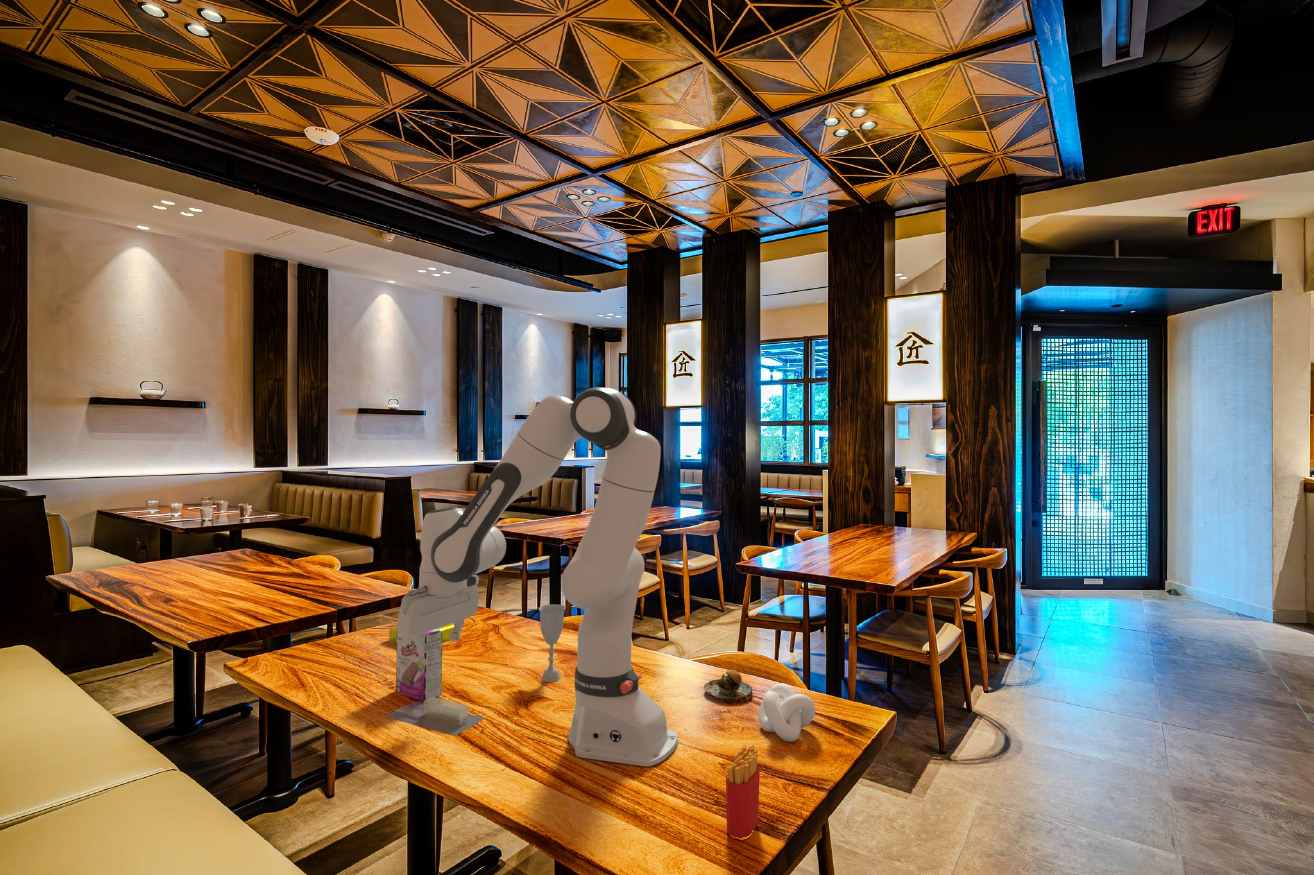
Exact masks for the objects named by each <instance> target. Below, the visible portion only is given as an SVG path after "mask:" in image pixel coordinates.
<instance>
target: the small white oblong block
mask: <svg viewBox="0 0 1314 875" xmlns="http://www.w3.org/2000/svg"><path fill="white" fill-rule="evenodd" d="M414 702H415V701H412V702H410V703H408V704H406V705H404V706H402V707H400V708H398V709H395V710H394V711H395V714H399V715H403V716H406V717H410V718H414V719H418V720H419V719H421V718H423V717H424V718H428V719H431V720H435V721H439V722H443V723H447V724H450V725H454V726H458V727H460V726H462V725H463V724H465V723H467V719H468V714H469V713H468V712H469V711H468V708H469V706H468V705H466V704H463V703H458V702H456V701H455V702H454V701H451V700H445V699H441V698H438V697H436V698H434V697H431V698H429V699H427V700H425V701H423V703H424V705H422V704H418V703H414Z"/></svg>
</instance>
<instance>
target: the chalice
mask: <svg viewBox="0 0 1314 875" xmlns="http://www.w3.org/2000/svg"><path fill="white" fill-rule="evenodd" d="M565 610H566V606H565V605H562V604H555V603H554V604H552V603H551V604H545V605H541V606H540V607H538V611H539V613H540V616H539V617H540V620H539V621H540V626H539V627H540V628H539V629H540V631H541V635H542V637H543V639H544V642H545V644H547V645H549V650H548V651H547V652H548V654H549V657H548V659H547V660H548V663H549V665H548V667H546V668H545V669H544V671H543V673H542V676H541V678H540V680H541V681H542V682H545V683H546V682H547V683H553V682H558V681H560V680H561V678H562V677H561V675H560V672H559V670H558V668H556V667H555V666H554V661H555V658H554V653H555V650H554V645H555V644H557V643H558V641H559V639H560V637H561V634H562V632H563V628H564V612H565Z"/></svg>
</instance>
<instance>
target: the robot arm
mask: <svg viewBox="0 0 1314 875" xmlns="http://www.w3.org/2000/svg"><path fill="white" fill-rule="evenodd" d="M637 415H638V414H637V410H636V406H635V403H634V402H633V401H632V399H631V398H630V397H629V396H627V395H626V394H625V393H622V392H621V391H620V390H619V391H618V390H616V389H614V388H610V387H598V386H596V387H591V388H588V389H585V390H584V391H582V392H581V393H579V394H578V395H577V396H576V398H575V399H574V400H571V399H570V398H568V397H565V396H562V395H557V394H552V395H551V394H550V395H546V397H544V398H543V399H542V400H541V401H540V402H539V403H538V404H537V406H535V408H534V409H533V410H532V411H531V412H530V414H529V415H528V416H527V418H526V419H525V420H524V422H523V424H522V425H521V427H520V428H519V430H518V431H517V433H516V435H515V437H514V438H513V440H512V441H511V443H510V445H509V446H508V448H507V450H506V451H505V453H504V454H503V455H502V457H501V459H500V460H499V462H498V463H497V465H496V466H495V467H494V469H493V470H492V472H491V473H490V474H489V476H487V478H486V480H485V481H484V482H483V484H482V485H481V486H480V488H479V489H478V491H477V492H476V494H475V495H474V496H473V498H472V499H471V500H470V502H469V504H468V505H467V506H466V507H465V510H463V509H462V508H460V507H457V506H450V507H445V508H438V509H433V510H432V509H431V510H430V511H428V512H427V513H426V514H425V515H424V519H423V522H422V525H421V532H420V546H419V547H420V553H421V562H420V566H419V577H418V580H419V582H418V583H419V584H418V588H416V589H411V590H408V591H407V593H406V594H405V595H404V596H403V597H402V598H401V603H400V607H399V613H398V618H397V619H398V620H397V625H398V627H397V631H398V633H399V634H400V635H401V636H405V637H410V638H411V637H412V638H413V640H414V642H415V644H416V645H417V647H416V652H417V653H418V654H424V653H426V652H428V649H427V648H428V644H425V643H424V641H423V638H424V637H425V633H426V632H429V631H432V630H434V629H437V628H440V627H443V626H446V625H449V624H451V623H454V627H453V630H452V632H450V633H449V636H450V637H449V641H451V642H457V641H458V640H460V639H461V632H462V630H463V627H464V625H465V619H468V618H472V617H474V616H475V615H476V614H477V611H478V609H479V588H478V586H477V585H478V584H479V582H480V581H479V580H480V578H479V576H478V575H477V574H479V573H481V572H483V571H486V570H488V569H491V568H492V567H494V566H496V565H497V564H499V563H500V562H502V560H503V559H504V557H505V556H506V553H507V539H506V537H505V535H504V533H503V532H502V531H501V529H499V528H498V527H497V526H496V525H495V524H496V523H497V521H498V520H499V519H500V517H501V515H502V514H503V513H504V511H505V510H506V509H507V508H508V507H509V506H510V505H511V504H512V503H513V502H514V501H516V500H517V499H518V498H520V497H522V496H523V495H525V494H528V493H529V492H531V491H533V490H535V489H537V488H539V487H541V486H542V485H545V484H546V483H547V482H548V481H549V480H550V479H551V477H553V475H554V474H555V473H556V472H557V471H558V469H559V468H560V466H561V465H562V464H563V462H564V460H565V459H566V457H567V455H568V454H569V451H570V449H571V448H572V447H573V445H574V444H575V443H576V442H577V441H578V440H579V439H581V438H583V439H584V440H586V441H588V442H589V443H592V444H593V445H595V446H596V447H598V448H599V449H600V450H603V451H605V452H606V462H605V467H604V471H603V474H602V478H601V482H600V487H599V490H598V493H597V498H596V501H595V505H594V508H593V509H594V510H593V512H592V515H591V517H590V520H589V522H588V525H587V527H586V529H585V531H584V533H583V535H582V537H581V540H580V542H579V543H578V546H577V548H576V551H575V553H574V555H573V556H572V559H571V560H570V562H569V563H568V564H567V566H566V567H565V568H564V570H563V572H562V575H561V580H560V584H561V591H562V594H563V596H564V597H565V599H566V601H568V603H569V604H571V605H572V606H574V607H575V608H578V609H581V610H584V613H583V617H582V619H581V622H580V623H579V626H578V628H577V629H578V630H577V656H576V658H577V661H576V662H577V664H576V667H575V670H574V671H575V672H574V689H575V690H574V691H575V703H574V710H573V717H572V721H571V726H570V729H569V733H568V734H567V740H568V742H569V744H570V745H571V746H572V747H573V748H574V756H576V757H578V758H583V759H590V760H597V761H604V762H611V763H618V764H623V765H624V764H626V765H631V766H632V765H633V766H639V767H651V766H654V765H658V764H660V763H661V762H662V761H664V760H666V759H667V758H669V756H670V755H672V754H673V752H674V750H675V749H676V748H677V747H678V743H679V741H678V740H679V738H678V734H677V732H676V731H674V730H671V729H669V728H668V725H667V719H666V714H665V711H664V709H663V708H662V707H661V706H660V705H659V704H658V703H657V702H655V700H653V699H652V697H650V696H649V695H648V694H647V693H646V692H645V691H644V690H643V689H642V688H641V687H640V686H639V681H640V680H641V679H642V678H643V676H642V675H643V672H642V671H640V672H639V673H638V674H637V673H636V672H635V670H634V667H633V666H632V634H633V633H632V632H633V623H634V618H635V613H636V612H635V611H636V607H637V601H638V597H639V589H640V584H641V580H642V577H643V575H644V572H645V560H644V557H643V555H642V553H641V552H640V551H639V550H638V549H637V548H636V545H637V543H638V540H639V538H640V536H641V535H642V534H643V532H644V530H645V528H646V525H647V522H648V518H649V515H650V510H651V507H652V503H653V499H654V496H655V495H654V494H655V491H656V488H657V482H658V478H659V472H660V463H661V453H662V452H661V448H662V447H661V445H660V443H659V440H658V439H657V438H656V437H655V436H653V435H652V434H650V433H649V432H646V431H643V430H640V429H638V428H637V427H636V426H635V425H636V422H637Z"/></svg>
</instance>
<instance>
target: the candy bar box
mask: <svg viewBox="0 0 1314 875" xmlns="http://www.w3.org/2000/svg"><path fill="white" fill-rule="evenodd" d="M423 641H424V643H425V644H428V648H427V649H428V652H426V653H424V654H418V653H417V652H416V647H417V645H416V644H415V642H414V640H413V638H412V637H411V638H410V637H405V636H401V635H400V634H399V633H398V631H397V644H396V655H395V656H396V660H395V661H396V662H395V663H396V665H395V669H396V670H395V671H396V672H395V692H397V693H400V694H403V695H404V696H408V697H410V698H413V699H416V700H418V701H421V702H424V701H425V700H427V699H429V698H431V697H434V698H438V697H441V696H442V685H443V684H442V679H443V676H442V675H443V674H442V673H443V671H442V670H443V666H442V665H443V643H442V630H440V629H434V630H432V631H429V632H426V633H425V637H424V638H423Z"/></svg>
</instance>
